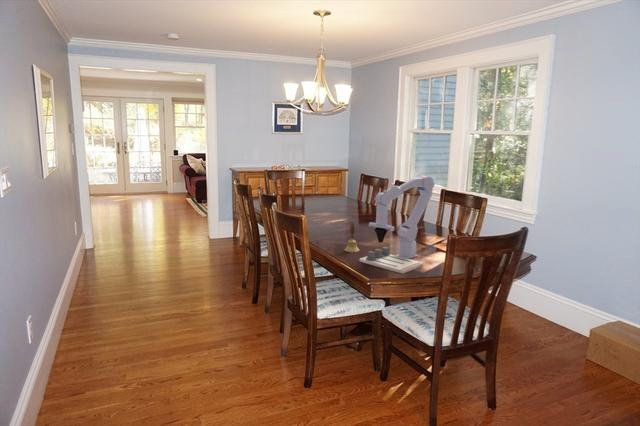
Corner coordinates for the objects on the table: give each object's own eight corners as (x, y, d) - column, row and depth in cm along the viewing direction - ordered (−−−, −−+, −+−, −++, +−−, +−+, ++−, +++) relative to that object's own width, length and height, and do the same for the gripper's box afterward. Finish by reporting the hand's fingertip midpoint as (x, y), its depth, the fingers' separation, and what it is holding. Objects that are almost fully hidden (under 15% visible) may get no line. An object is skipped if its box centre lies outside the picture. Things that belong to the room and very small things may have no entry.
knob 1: (370, 257, 226) (371, 250, 226) (376, 259, 224) (376, 251, 223) (365, 259, 224) (366, 251, 223) (371, 260, 221) (371, 253, 220)
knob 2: (384, 253, 235) (385, 246, 234) (390, 254, 232) (390, 247, 232) (380, 254, 232) (380, 247, 231) (385, 256, 230) (386, 249, 229)
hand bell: (343, 252, 242) (344, 223, 239) (345, 248, 250) (346, 220, 247) (358, 252, 241) (359, 224, 238) (359, 248, 249) (360, 221, 246)
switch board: (380, 254, 238) (380, 251, 238) (423, 265, 220) (423, 262, 220) (359, 261, 225) (359, 258, 225) (402, 273, 208) (402, 270, 207)
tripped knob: (377, 255, 231) (378, 248, 230) (383, 256, 228) (383, 249, 228) (373, 256, 228) (373, 249, 227) (378, 258, 225) (379, 251, 225)
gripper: (365, 215, 228) (364, 240, 230) (389, 219, 218) (387, 246, 221) (373, 213, 233) (372, 238, 235) (397, 217, 223) (395, 243, 226)
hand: (380, 242), depth 228 cm, fingers closed
